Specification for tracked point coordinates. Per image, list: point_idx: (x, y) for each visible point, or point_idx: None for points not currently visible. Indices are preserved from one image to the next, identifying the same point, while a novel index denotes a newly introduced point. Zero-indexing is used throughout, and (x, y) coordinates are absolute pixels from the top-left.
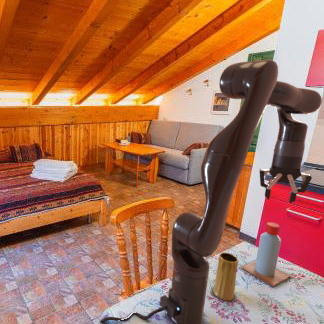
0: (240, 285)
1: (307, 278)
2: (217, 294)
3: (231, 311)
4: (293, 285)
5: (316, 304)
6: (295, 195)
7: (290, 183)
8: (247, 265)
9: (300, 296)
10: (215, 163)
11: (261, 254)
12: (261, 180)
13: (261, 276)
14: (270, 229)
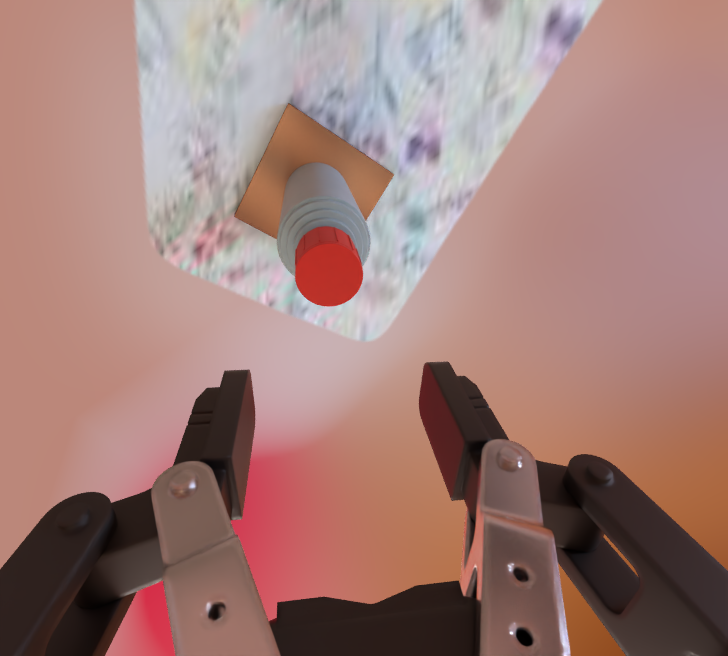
0: (401, 33)
1: (184, 241)
2: None
3: None
4: (223, 161)
5: (147, 68)
6: (188, 446)
7: (251, 601)
8: (372, 202)
9: (199, 93)
10: None
11: (346, 188)
12: (675, 542)
13: (327, 148)
14: (340, 238)
